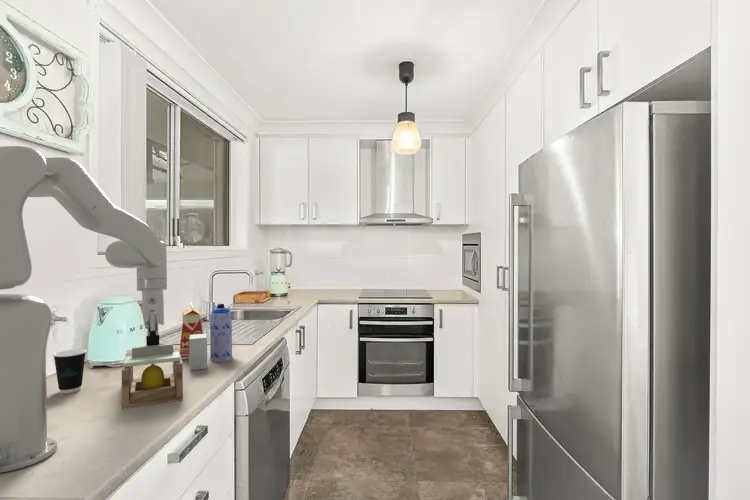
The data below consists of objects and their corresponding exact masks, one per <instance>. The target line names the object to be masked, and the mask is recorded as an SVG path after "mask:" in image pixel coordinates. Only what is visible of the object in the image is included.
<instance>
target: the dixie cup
mask: <svg viewBox="0 0 750 500" xmlns="http://www.w3.org/2000/svg"><path fill="white" fill-rule="evenodd" d="M87 351H88V350H87V349H84V348H74V349H66V350H65V349H64V350H61V351H56V352H54V353H53V354H52V356H53V357H54V358H53V360H54V366H55V374H56V378H57V379H56V380H57V385H58V390H59V393H60V394H71V393H75V392H76V393H77V392H78V391H81V388H82V385H83V377H84V369H85V360H86V353H87Z"/></svg>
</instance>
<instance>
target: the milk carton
mask: <svg viewBox="0 0 750 500" xmlns="http://www.w3.org/2000/svg"><path fill="white" fill-rule="evenodd" d="M200 313H201V312H200V311H199V309H197V308H196V307H195V306H194V305H193V302H192V301H190V305H189V306H187V307H186V308H184V309H182V325H181V334H180V342H179V351H180V355H181V359H182V360H189V338H190V335H195V334H204V328H203V322H202V317H201V314H200Z"/></svg>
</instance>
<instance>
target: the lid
mask: <svg viewBox="0 0 750 500" xmlns="http://www.w3.org/2000/svg"><path fill="white" fill-rule="evenodd" d="M173 346H174V343H164V344H163V343H162V344H159V345H152V346H147V345H145V346H143V345H142V346H133V347H131V350H132V357H126V359H125V358H124V360H125V363H124V362H123V364H124V367H131V366H133V367H138V366H146V365H148V366H149V365H151V364H155V365H157V364H163V363H171V362H172V363H173V362H174V361H180V355H179V352H173Z"/></svg>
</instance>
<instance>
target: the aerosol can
mask: <svg viewBox="0 0 750 500" xmlns="http://www.w3.org/2000/svg"><path fill="white" fill-rule="evenodd" d="M232 317H233V314H232V311H231V310H230V309H229V308H227V307H226V306H225V304H224V303H218V304H217V307H215V308H214V309H213V310H212V311H211V312H210V313H209V333H210V334H209V337H210V338H209V340H210V341H209V343H210V345H209V346H210V347H209V349H210V352H209V353H210V358H209V361H211V362H226V361H231V360H232V359H233V357H234V356H233V318H232Z"/></svg>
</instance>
